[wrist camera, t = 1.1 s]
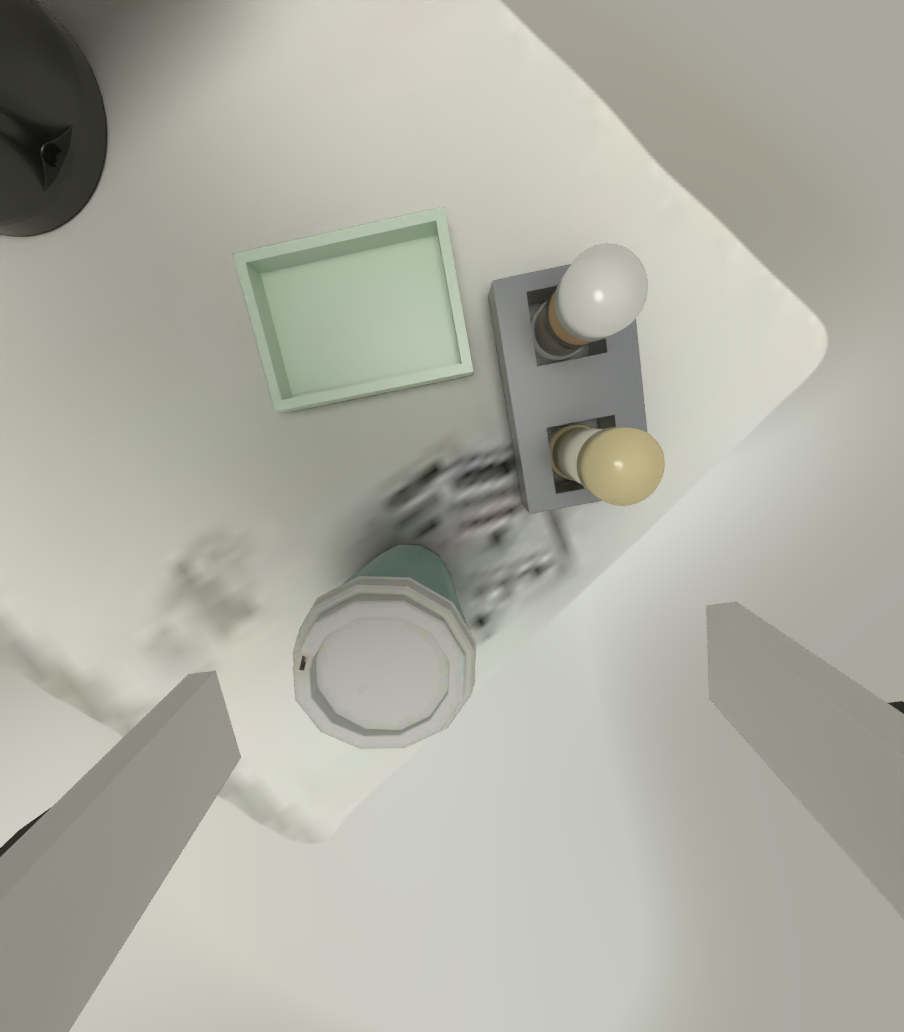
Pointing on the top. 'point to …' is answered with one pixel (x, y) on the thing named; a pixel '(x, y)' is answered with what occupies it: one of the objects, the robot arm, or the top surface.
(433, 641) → the disposable coffee cup
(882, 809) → the robot arm
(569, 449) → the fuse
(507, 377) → the grey rectangular block
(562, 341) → the cylinder
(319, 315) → the parts tray
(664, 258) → the top surface
